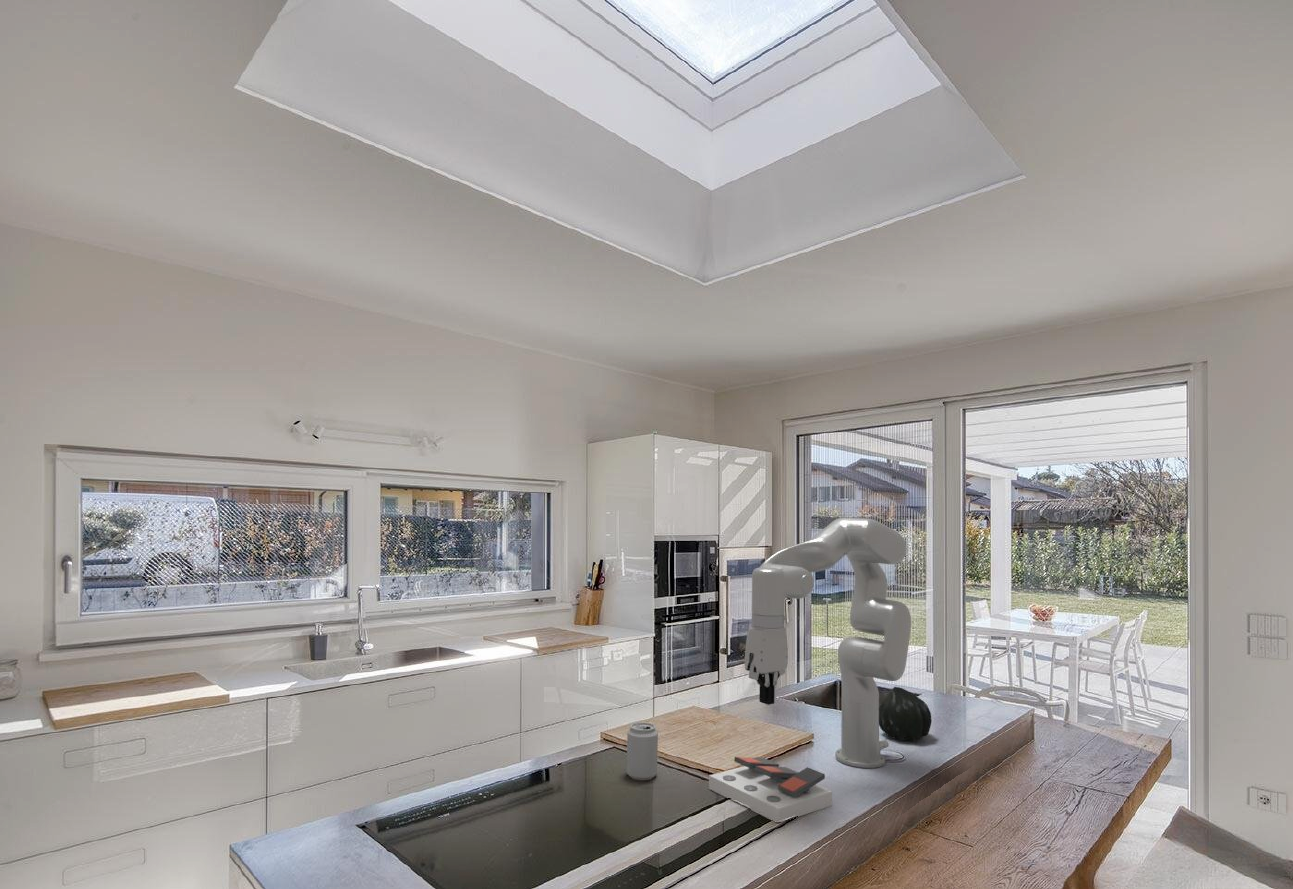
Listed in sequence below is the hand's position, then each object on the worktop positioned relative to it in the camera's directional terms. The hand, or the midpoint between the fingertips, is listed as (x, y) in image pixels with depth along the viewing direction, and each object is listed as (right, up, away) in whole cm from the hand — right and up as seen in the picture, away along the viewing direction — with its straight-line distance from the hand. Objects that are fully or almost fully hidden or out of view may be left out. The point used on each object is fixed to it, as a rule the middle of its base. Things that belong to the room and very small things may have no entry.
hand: (766, 702), depth 168 cm
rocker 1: (-1, -17, +7) cm, 18 cm away
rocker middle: (+3, -16, +1) cm, 17 cm away
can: (-29, -21, +10) cm, 37 cm away
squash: (+47, -26, +44) cm, 70 cm away
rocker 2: (+7, -16, -4) cm, 18 cm away
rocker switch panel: (0, -21, -1) cm, 21 cm away
